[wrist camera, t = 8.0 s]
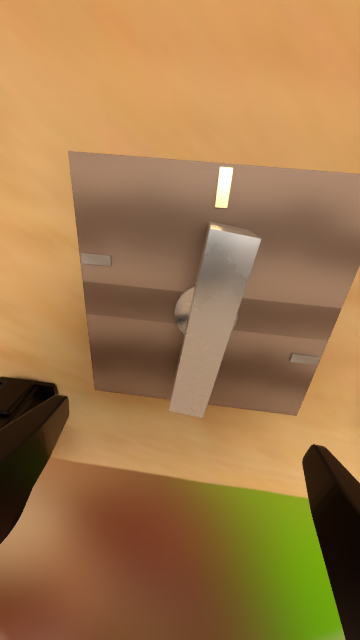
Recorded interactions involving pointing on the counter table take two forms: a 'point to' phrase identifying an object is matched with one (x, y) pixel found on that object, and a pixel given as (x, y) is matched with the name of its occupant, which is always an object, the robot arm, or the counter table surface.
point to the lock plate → (183, 263)
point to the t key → (210, 314)
